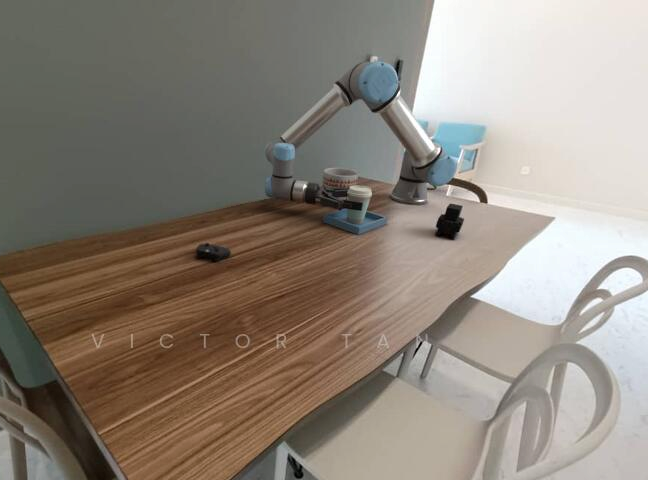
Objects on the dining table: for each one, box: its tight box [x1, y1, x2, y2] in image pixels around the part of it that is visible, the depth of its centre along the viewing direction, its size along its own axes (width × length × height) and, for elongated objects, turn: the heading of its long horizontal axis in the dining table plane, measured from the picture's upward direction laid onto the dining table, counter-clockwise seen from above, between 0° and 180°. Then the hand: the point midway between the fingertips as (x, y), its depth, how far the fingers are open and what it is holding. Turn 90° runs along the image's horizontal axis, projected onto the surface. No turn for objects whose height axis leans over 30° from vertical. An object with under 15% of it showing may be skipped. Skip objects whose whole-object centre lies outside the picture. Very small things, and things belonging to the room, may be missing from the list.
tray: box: [322, 208, 388, 236], centre depth 142 cm, size 18×16×3 cm
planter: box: [321, 167, 359, 201], centre depth 159 cm, size 14×14×13 cm
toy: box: [435, 203, 465, 241], centre depth 137 cm, size 8×14×10 cm, turn 149°
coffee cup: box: [347, 184, 373, 224], centre depth 139 cm, size 8×8×12 cm
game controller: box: [195, 242, 232, 262], centre depth 110 cm, size 10×5×6 cm
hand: (365, 201), depth 137 cm, fingers open, 13 cm apart
